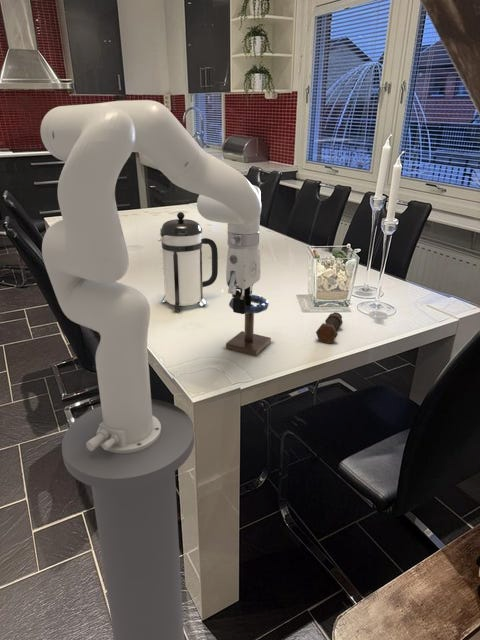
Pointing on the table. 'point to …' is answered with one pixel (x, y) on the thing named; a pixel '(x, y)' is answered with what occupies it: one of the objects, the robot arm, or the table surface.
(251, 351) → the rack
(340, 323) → the bolt
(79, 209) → the robot arm
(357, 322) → the table surface
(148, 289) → the table surface
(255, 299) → the ring
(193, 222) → the coffee press
